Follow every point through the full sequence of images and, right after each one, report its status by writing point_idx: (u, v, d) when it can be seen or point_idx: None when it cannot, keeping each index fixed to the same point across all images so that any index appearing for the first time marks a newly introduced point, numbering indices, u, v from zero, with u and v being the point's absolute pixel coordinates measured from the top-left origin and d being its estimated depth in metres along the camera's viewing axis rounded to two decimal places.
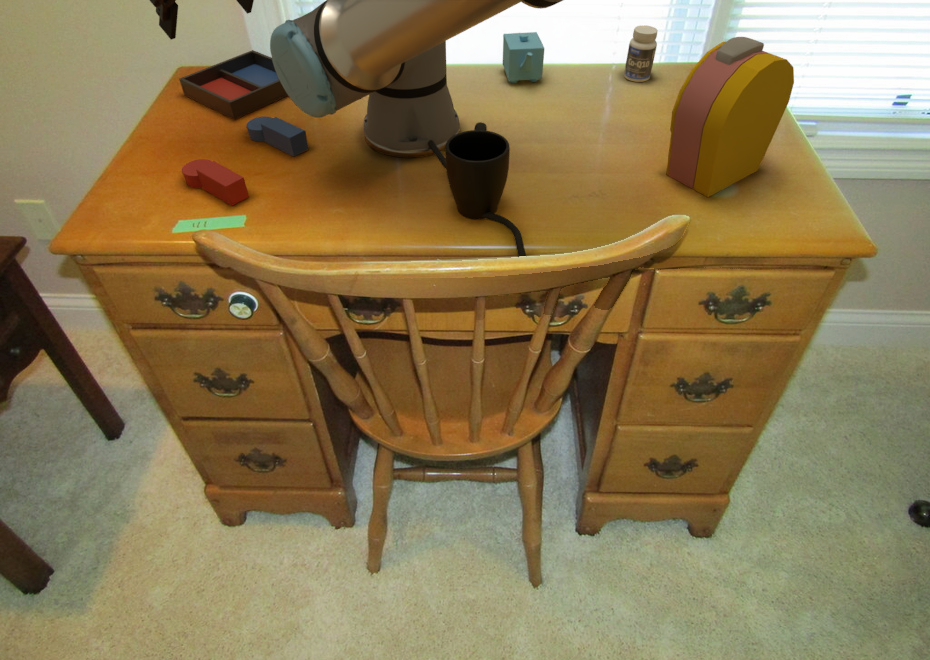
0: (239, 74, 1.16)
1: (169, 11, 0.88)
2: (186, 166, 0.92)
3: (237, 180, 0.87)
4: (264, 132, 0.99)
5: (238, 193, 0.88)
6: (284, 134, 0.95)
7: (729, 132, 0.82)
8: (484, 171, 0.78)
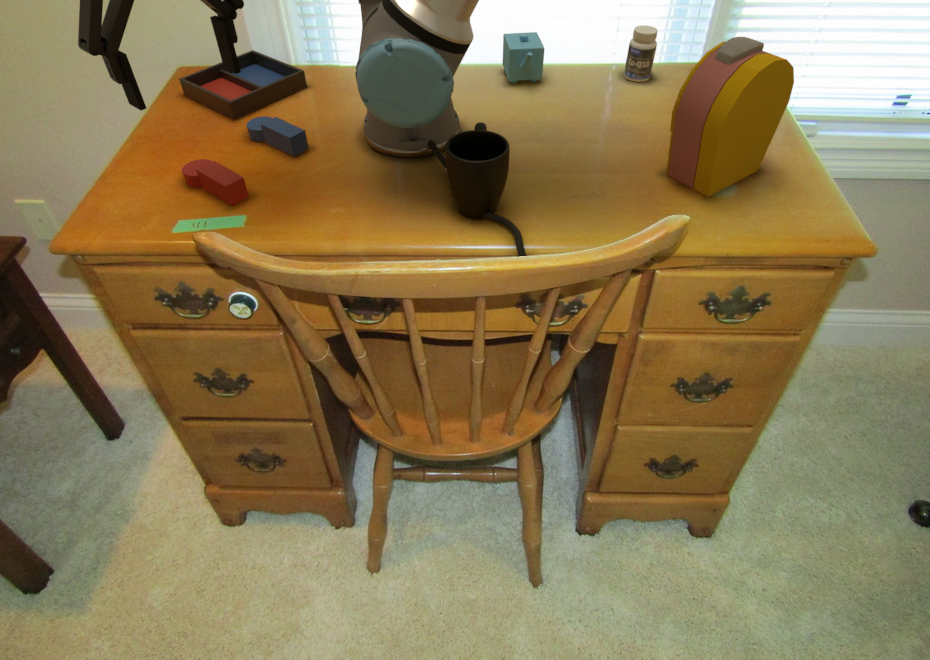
0: (239, 74, 1.16)
1: (121, 67, 0.73)
2: (186, 166, 0.92)
3: (237, 180, 0.87)
4: (264, 132, 0.99)
5: (238, 193, 0.88)
6: (284, 134, 0.95)
7: (729, 132, 0.82)
8: (484, 171, 0.78)
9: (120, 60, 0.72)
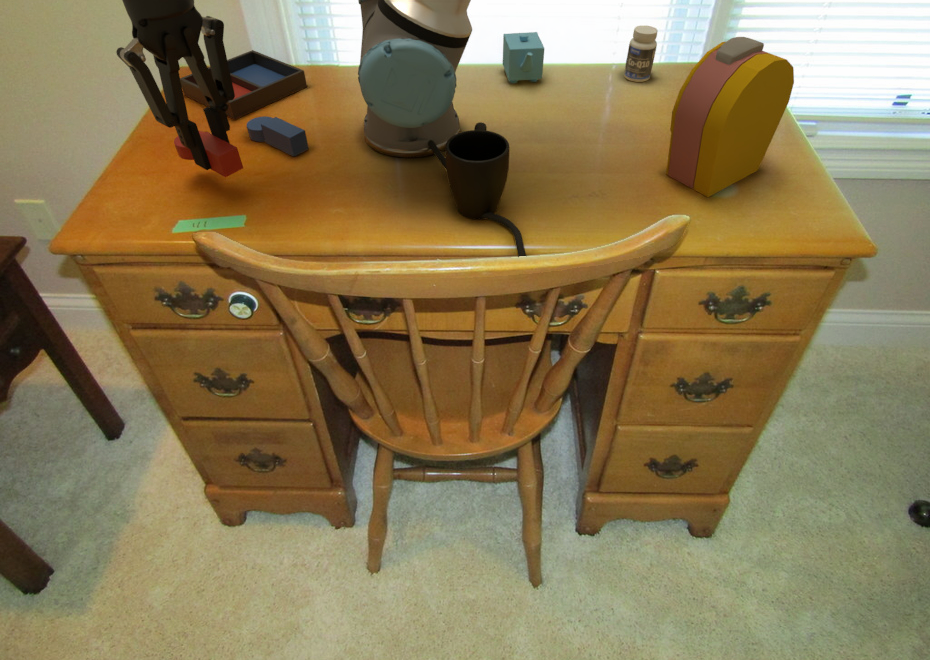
0: (239, 74, 1.16)
1: (191, 135, 0.82)
2: (178, 138, 0.89)
3: (230, 150, 0.84)
4: (264, 132, 0.99)
5: (231, 164, 0.85)
6: (284, 134, 0.95)
7: (729, 132, 0.82)
8: (484, 171, 0.78)
9: (191, 129, 0.81)
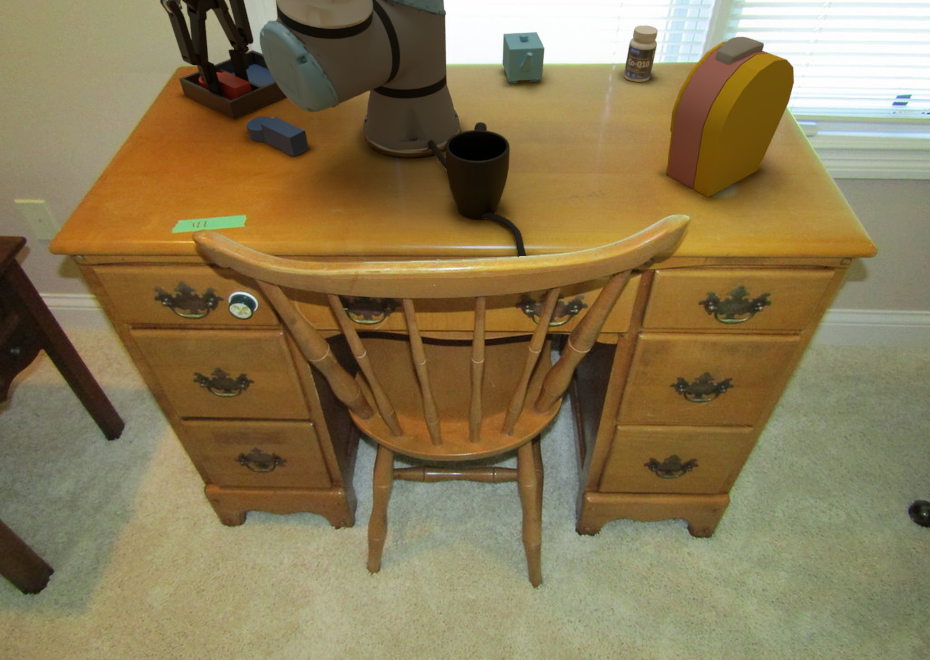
0: None
1: (209, 73, 1.04)
2: None
3: (244, 84, 1.06)
4: (264, 132, 0.99)
5: None
6: (284, 134, 0.95)
7: (729, 132, 0.82)
8: (484, 171, 0.78)
9: (209, 68, 1.03)
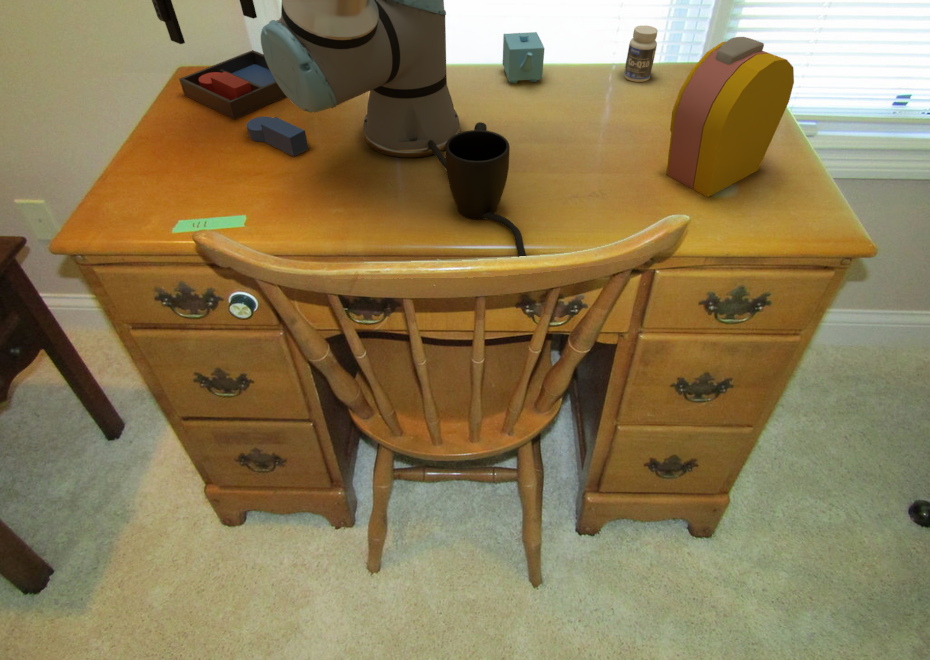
0: (239, 74, 1.16)
1: (166, 8, 0.93)
2: (202, 77, 1.11)
3: (244, 84, 1.06)
4: (264, 132, 0.99)
5: None
6: (284, 134, 0.95)
7: (729, 132, 0.82)
8: (484, 171, 0.78)
9: (165, 2, 0.93)
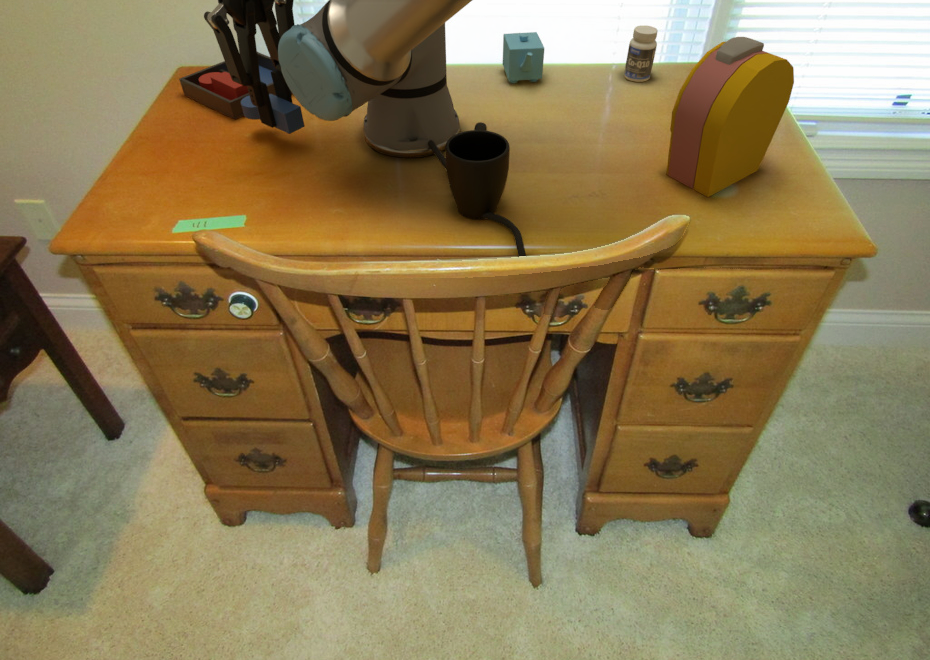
0: None
1: (261, 94, 0.92)
2: (202, 77, 1.11)
3: None
4: None
5: None
6: (279, 111, 0.93)
7: (730, 132, 0.82)
8: (484, 171, 0.78)
9: (261, 88, 0.91)
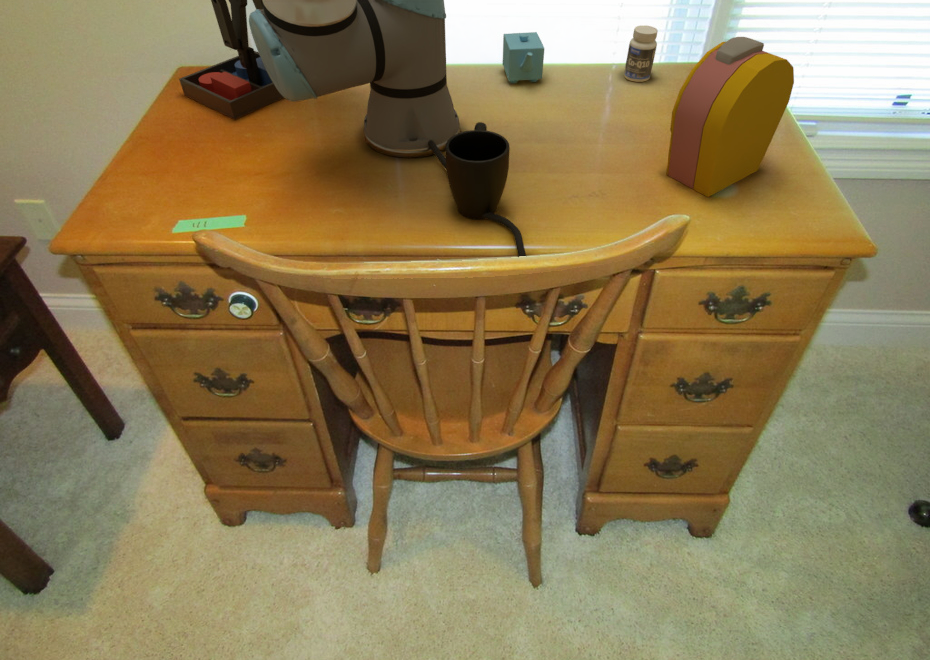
0: None
1: (249, 58, 1.08)
2: (202, 77, 1.11)
3: (244, 84, 1.06)
4: None
5: None
6: (266, 70, 1.10)
7: (729, 132, 0.82)
8: (484, 171, 0.78)
9: (249, 52, 1.08)
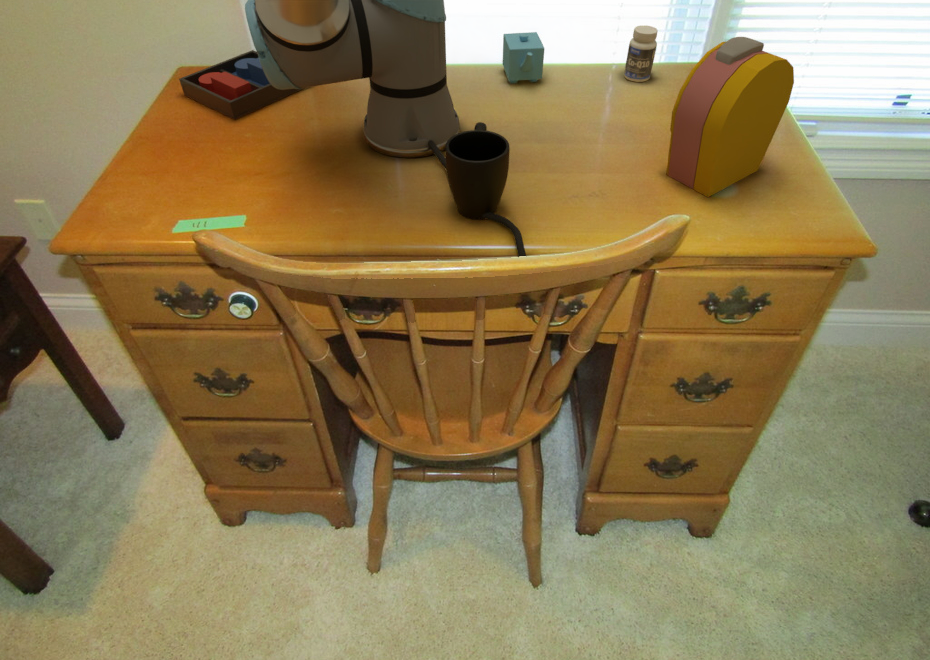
0: None
1: None
2: (202, 77, 1.11)
3: (244, 84, 1.06)
4: (250, 70, 1.13)
5: None
6: None
7: (729, 132, 0.82)
8: (484, 171, 0.78)
9: None
